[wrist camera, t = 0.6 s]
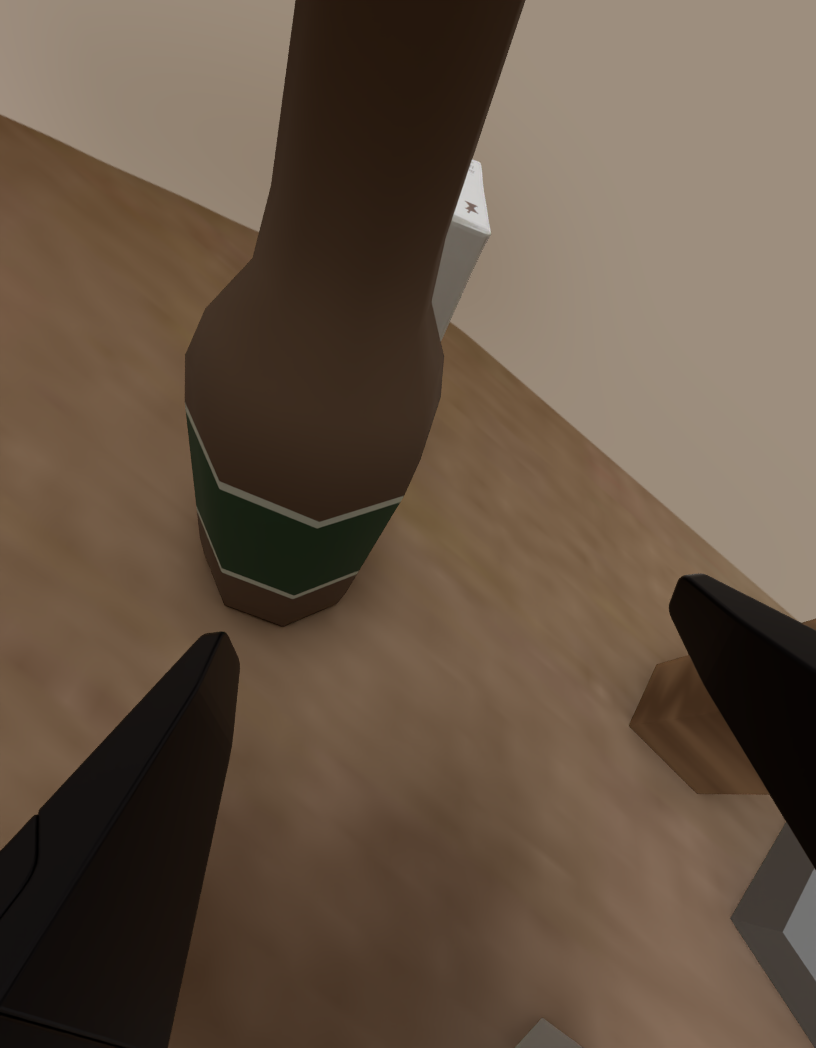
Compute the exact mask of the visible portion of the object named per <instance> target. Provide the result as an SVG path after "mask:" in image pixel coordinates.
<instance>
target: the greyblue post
mask: <svg viewBox="0 0 816 1048" xmlns="http://www.w3.org/2000/svg"><path fill="white" fill-rule="evenodd" d="M515 1048H583V1047H582V1046H581V1045H579V1044H578V1043H576V1042H575V1041H574V1040H572V1039H571V1038H570V1037H568V1036H567V1035H565V1034H564V1033H563V1032H561V1031H560V1030H559V1029H557V1028H556V1027H555V1026H553V1025H552V1024H550V1023H549V1022H548V1021H546V1020H545V1019H544V1018H541V1019H540V1020H539V1021H538V1023H537V1024H536V1025H535V1026H534V1027H533V1028H532V1029H531V1030H530V1031H529V1032H528V1034H527V1035H526V1036H525V1037H524V1038H523V1039H522V1040H521V1041H520V1042H519V1043H518V1045H517V1046H516V1047H515Z"/></svg>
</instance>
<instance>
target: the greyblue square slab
mask: <svg viewBox="0 0 816 1048" xmlns="http://www.w3.org/2000/svg"><path fill="white" fill-rule="evenodd" d="M730 919H731V920H732V922H733V923H734V925H735V926H736V928H737V929H738V931H739V933H740V934H741V936H742V937H743V939H744V940H745V942H746V943H747V945H748V946H749V948H750V949H751V951H752V952H753V954H754V955H755V957H756V959H757V960H758V962H759V963H760V965H761V966H762V968H763V969H764V971H765V972H766V974H767V975H768V977H769V978H770V980H771V981H772V983H773V985H774V986H775V988H776V989H777V991H778V992H779V994H780V995H781V997H782V998H783V1000H784V1001H785V1003H786V1004H787V1006H788V1007H789V1009H790V1011H791V1012H792V1014H793V1015H794V1017H795V1018H796V1020H797V1021H798V1023H799V1024H800V1026H801V1027H802V1029H803V1030H804V1032H805V1033H806V1035H807V1036H808V1038H809V1040H810V1041H811V1043H812V1044H813V1046H814V1047H815V1048H816V870H815V868H814V867H813V865H812V864H811V862H810V860H809V859H808V857H807V855H806V854H805V852H804V850H803V849H802V847H801V845H800V844H799V842H798V840H797V839H796V837H795V835H794V834H793V832H792V831H791V829H790V827H789V826H788V824H787V822H786V823H785V825H784V827H783V828H782V830H781V832H780V834H779V835H778V837H777V839H776V840H775V842H774V844H773V846H772V847H771V849H770V851H769V852H768V854H767V856H766V858H765V859H764V861H763V863H762V865H761V866H760V868H759V870H758V871H757V873H756V875H755V877H754V878H753V880H752V882H751V884H750V885H749V887H748V889H747V890H746V892H745V894H744V896H743V897H742V899H741V901H740V903H739V904H738V906H737V908H736V909H735V911H734V913H733V915H732V916H731V918H730Z"/></svg>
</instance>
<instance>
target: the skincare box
mask: <svg viewBox="0 0 816 1048" xmlns="http://www.w3.org/2000/svg"><path fill="white" fill-rule="evenodd" d="M490 235H491V230H490V225H489V218H488V213H487V206H486V200H485V195H484V188H483V178H482V169H481V163H480V162H478V161H475V160H472V161H471V164H470V167H469V170H468V173H467V176H466V179H465V182H464V185H463V188H462V191H461V194H460V197H459V200H458V203H457V206H456V209H455V212H454V215H453V218H452V221H451V224H450V227H449V230H448V233H447V236H446V239H445V244H444V248H443V253H442V257H441V262H440V266H439V271H438V275H437V280H436V284H435V288H434V293H433V297H432V306H433V310H434V315H435V319H436V323H437V328H438V332H439V337H440V341H441V340H442V338H443V336H444V333H445V331H446V329H447V327H448V324H449V322H450V320H451V318H452V315H453V313H454V311H455V309H456V307H457V304H458V302H459V300H460V298H461V295H462V293H463V291H464V289H465V287H466V284H467V282H468V280H469V277H470V275H471V273H472V271H473V269H474V267H475V265H476V262H477V260H478V258H479V256H480V254H481V252H482V250H483V248H484V246H485V244H486V243H487V241H488V239H489V237H490Z"/></svg>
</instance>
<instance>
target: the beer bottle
mask: <svg viewBox="0 0 816 1048" xmlns="http://www.w3.org/2000/svg"><path fill="white" fill-rule="evenodd" d="M524 3H525V0H296V1H295V9H294V16H293V24H292V32H291V39H290V46H289V54H288V62H287V69H286V77H285V85H284V92H283V99H282V107H281V114H280V122H279V130H278V137H277V146H276V152H275V160H274V167H273V175H272V182H271V188H270V192H269V196H268V200H267V204H266V207H265V212H264V215H263V220H262V224H261V227H260V231H259V235H258V239H257V243H256V247H255V251H254V255H253V258H252V259H251V260H250V261H249V262H248V263H247V265H246V266H245V267H244V268H243V269H242V270H241V271H240V272H239V273H238V274H237V275H236V276H235V277H234V279H233V280H232V281H231V282H230V283H229V284H228V285H227V286H226V287H225V288H224V289H223V290H222V291H221V292H220V294H219V295H218V296H217V297H216V298H215V299H214V300H213V301H212V302H211V303H210V304H209V305H208V306H207V307H206V309H205V311H204V313H203V315H202V318H201V320H200V322H199V324H198V327H197V329H196V331H195V334H194V336H193V338H192V341H191V343H190V345H189V347H188V350H187V352H186V354H185V408H186V417H187V426H188V435H189V444H190V453H191V461H192V470H193V479H194V488H195V497H196V506H197V515H198V524H199V533H200V539H201V543H202V547H203V551H204V554H205V557H206V559H207V562H208V564H209V567H210V569H211V572H212V574H213V577H214V579H215V582H216V584H217V587H218V589H219V592H220V594H221V597H222V599H223V602H224V604H225V605H227V606H230V607H232V608H235V609H238V610H240V611H243V612H246V613H248V614H251V615H254V616H257V617H259V618H262V619H265V620H267V621H270V622H273V623H276V624H278V625H281V626H284V625H287V624H289V623H292V622H294V621H296V620H299V619H301V618H304V617H306V616H308V615H311V614H313V613H315V612H318V611H320V610H323V609H325V608H327V607H330V606H332V605H335V604H337V603H338V601H339V600H340V599H341V598H342V597H343V595H344V594H345V593H346V591H347V590H348V588H349V586H350V585H351V583H352V581H353V580H354V578H355V576H356V575H357V573H358V571H359V570H360V568H361V566H362V565H363V563H364V561H365V560H366V558H367V556H368V555H369V553H370V551H371V550H372V548H373V546H374V545H375V543H376V541H377V540H378V538H379V536H380V535H381V533H382V531H383V530H384V528H385V526H386V525H387V523H388V521H389V520H390V518H391V516H392V515H393V513H394V511H395V510H396V508H397V507H398V505H399V503H400V502H401V500H402V498H403V497H404V495H405V492H406V490H407V488H408V486H409V484H410V481H411V479H412V477H413V475H414V472H415V470H416V468H417V466H418V464H419V461H420V459H421V456H422V453H423V450H424V447H425V444H426V441H427V437H428V434H429V431H430V428H431V425H432V422H433V419H434V416H435V413H436V410H437V407H438V403H439V400H440V397H441V386H442V374H443V362H444V354H443V350H442V345H441V341H440V337H439V332H438V328H437V323H436V319H435V315H434V310H433V306H432V297H433V293H434V288H435V284H436V280H437V275H438V271H439V266H440V262H441V257H442V253H443V248H444V244H445V239H446V236H447V233H448V230H449V227H450V224H451V221H452V218H453V215H454V212H455V209H456V206H457V203H458V200H459V197H460V194H461V191H462V188H463V185H464V182H465V179H466V176H467V173H468V170H469V167H470V164H471V161H472V158H473V155H474V152H475V149H476V146H477V143H478V140H479V137H480V134H481V131H482V128H483V125H484V122H485V119H486V116H487V113H488V110H489V107H490V104H491V101H492V98H493V95H494V92H495V89H496V86H497V83H498V80H499V77H500V74H501V71H502V68H503V65H504V62H505V59H506V56H507V53H508V50H509V47H510V44H511V41H512V39H513V35H514V32H515V29H516V27H517V23H518V20H519V18H520V14H521V12H522V8H523V6H524Z"/></svg>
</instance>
